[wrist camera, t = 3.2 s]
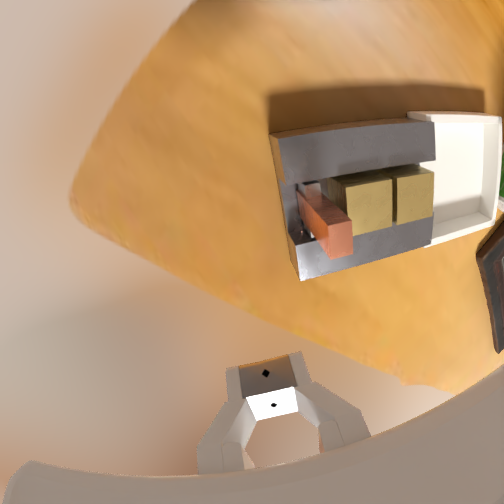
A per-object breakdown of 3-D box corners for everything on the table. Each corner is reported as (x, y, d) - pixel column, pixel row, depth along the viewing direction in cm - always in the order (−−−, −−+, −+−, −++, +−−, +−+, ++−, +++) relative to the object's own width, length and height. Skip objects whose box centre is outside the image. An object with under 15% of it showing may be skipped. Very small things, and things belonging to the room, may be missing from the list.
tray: (406, 111, 22) (426, 114, 19) (483, 112, 22) (501, 117, 19) (408, 235, 28) (424, 248, 26) (479, 215, 28) (494, 224, 26)
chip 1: (372, 166, 23) (397, 178, 20) (407, 160, 23) (434, 172, 20) (374, 207, 25) (396, 225, 22) (408, 200, 25) (432, 216, 22)
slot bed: (268, 134, 22) (277, 138, 19) (411, 117, 22) (434, 121, 19) (290, 260, 28) (300, 281, 25) (412, 229, 28) (430, 244, 25)
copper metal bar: (294, 178, 23) (326, 210, 16) (313, 174, 23) (351, 205, 16) (301, 227, 25) (331, 272, 19) (318, 223, 25) (353, 266, 19)
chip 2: (326, 174, 23) (345, 187, 20) (367, 166, 23) (391, 179, 20) (330, 217, 25) (348, 237, 22) (369, 208, 25) (391, 226, 22)
